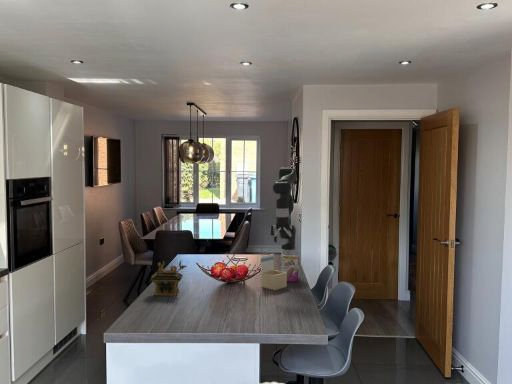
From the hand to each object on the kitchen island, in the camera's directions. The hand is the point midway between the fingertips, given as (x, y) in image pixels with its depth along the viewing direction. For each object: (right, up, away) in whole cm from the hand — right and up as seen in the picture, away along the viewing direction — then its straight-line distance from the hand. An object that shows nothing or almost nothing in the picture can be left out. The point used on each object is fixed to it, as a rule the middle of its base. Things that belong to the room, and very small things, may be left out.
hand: (283, 242), depth 280 cm
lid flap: (-9, -14, +10) cm, 19 cm away
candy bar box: (+6, -28, +25) cm, 37 cm away
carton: (-5, -28, +8) cm, 29 cm away
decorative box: (-65, -28, -12) cm, 72 cm away
